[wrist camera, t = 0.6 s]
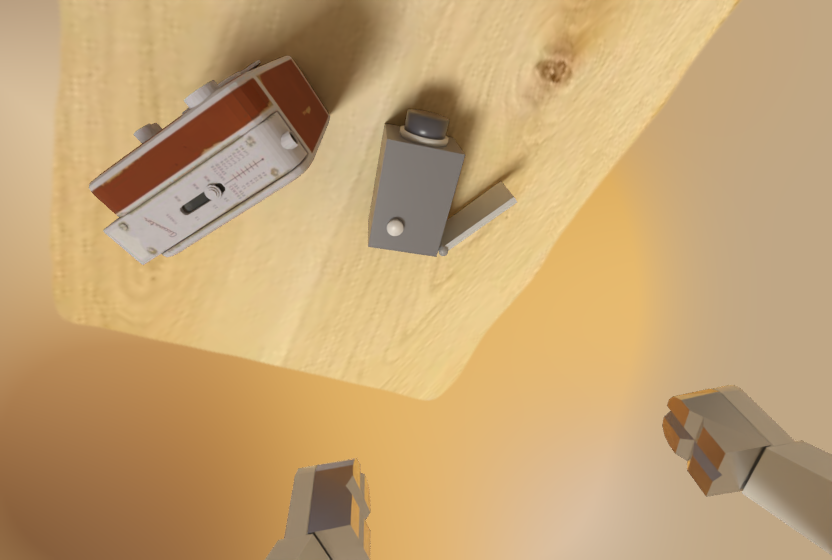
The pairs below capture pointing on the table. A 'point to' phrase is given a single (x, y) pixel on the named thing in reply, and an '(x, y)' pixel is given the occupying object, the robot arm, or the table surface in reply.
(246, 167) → the cine camera
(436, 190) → the camera body
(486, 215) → the side door
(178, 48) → the table surface
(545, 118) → the table surface
